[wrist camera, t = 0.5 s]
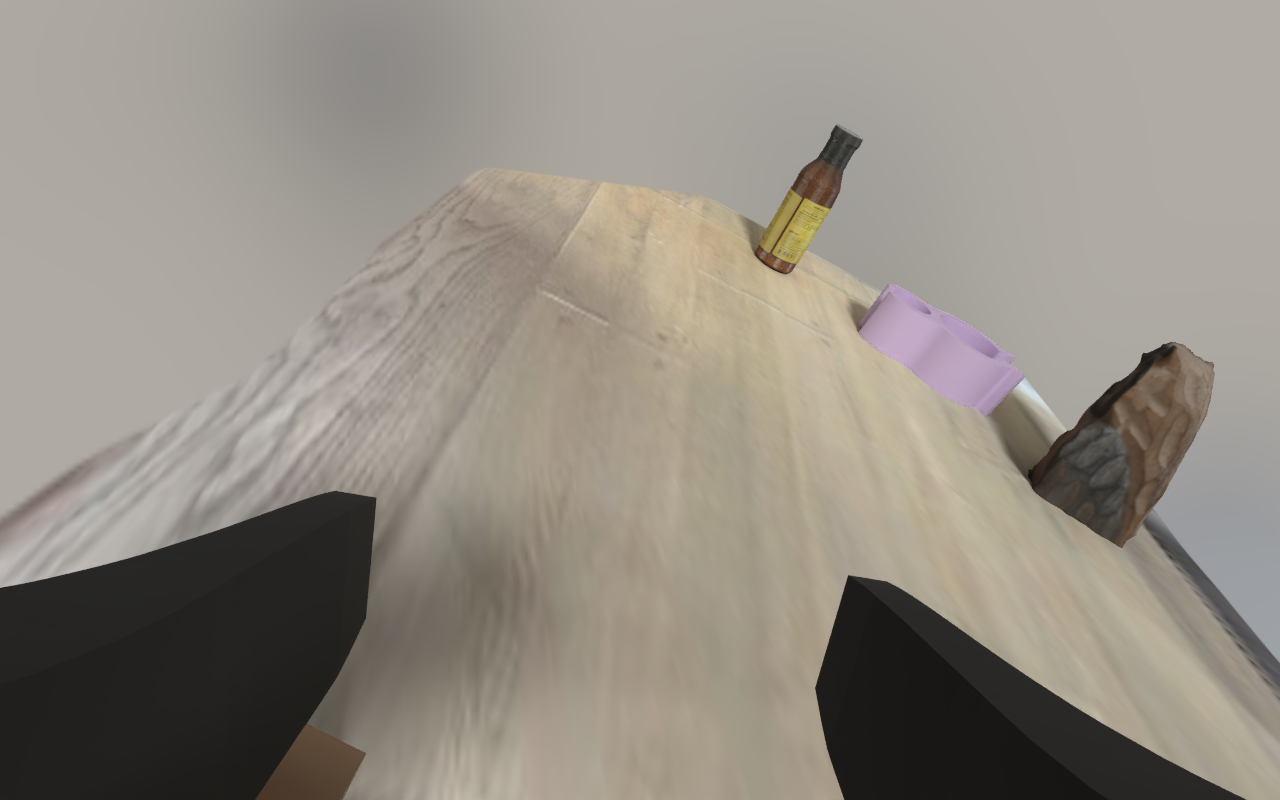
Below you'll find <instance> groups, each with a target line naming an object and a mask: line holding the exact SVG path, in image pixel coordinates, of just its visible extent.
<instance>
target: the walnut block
mask: <svg viewBox="0 0 1280 800" xmlns="http://www.w3.org/2000/svg"><path fill="white" fill-rule="evenodd" d="M365 755H366V753H365V752H363V751H360V750H358V749H356V748H354V747H352V746H350V745H348V744H346V743H344V742H342V741H340V740H337V739H335V738H333V737H331V736H329V735H327V734H325V733H323V732H321V731H319V730H317V729H314V728H312V727H310V726H308V725H305V727H304V728H303V729H302V731H301V732H300V734H299V735H298V737H297V738H296V740H295V741H294V743H293V744H292V746H291V747H290V749H289V750H288V752H287V753H286V755H285V756H284V758H283V759H282V761H281V762H280V764H279V765H278V767H277V768H276V770H275V771H274V773H273V774H272V776H271V777H270V779H269V780H268V782H267V783H266V785H265V786H264V788H263V789H262V790H261V792H260V793H259V795H258V796H257V798H256V799H255V800H343V798H344V796H345V794H346V792H347V790H348V788H349V786H350V784H351V782H352V780H353V778H354V776H355V774H356V772H357V770H358V768H359V766H360V764H361V762H362V760H363V758H364V756H365Z"/></svg>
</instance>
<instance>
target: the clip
mask: <svg viewBox="0 0 1280 800" xmlns="http://www.w3.org/2000/svg"><path fill="white" fill-rule="evenodd" d="M858 324H859V325H860V326H861V327H862V328H861V330H860V331H859V332H858V333H859V335H860V336H861V337H862V338H863V339H864V340H865V341H866V342H867V343H869V344H870V345H871V346H872V347H874V348H875V349H876V350H878V351H880V352H881V353H883V354H884V355H886V356H888V357H890V358H892V359H894V360H896V361H898V362H900V363H901V364H903V365H904V366H906V367H907V368H908V369H909V370H910V371H912V372H913V373H914V374H915V375H916V376H917V377H918V378H919V379H920V380H922V381H923V382H924V383H925V384H927V385H928V386H929V387H931V388H932V389H933V390H935V391H936V392H938V393H939V394H941V395H943V396H944V397H946V398H948V399H950V400H952V401H954V402H956V403H958V404H960V405H963V406H966V407H974V408H976V409H978V410H979V411H980V412H981V413H982V414H984V415H985V416H989V414H990V413H991V412H992V411H993V410H994V409H995V408H996V407H997V406H998V405H999V404H1000V403H1001V402H1002V401H1003V400H1004V399H1005V398H1006V396H1007V395H1008V394H1009V393H1010V392H1011V391H1012V390H1013V389H1014V388H1015V387H1016V386H1017V385H1018V384H1019V383H1020V382H1021V381H1022V380H1023V378H1024V377H1025V376H1024V375H1023V374H1022V373H1021V372H1020V371H1018V370H1017V369H1016V368H1015V367H1013V366H1012V365H1011V362H1012V361H1013V360H1014V359H1015V357H1014V356H1013V355H1012V354H1010V353H1009V352H1006V351H1004V350H1002V349H1001V348H1000V347H998V346H997V345H996V344H995V343H994V342H993V341H992V340H990V339H989V338H988V337H986V336H985V335H984V334H982V333H981V332H979V331H978V330H977V329H975V328H974V327H972V326H971V325H969V324H967V323H966V322H964V321H962V320H961V319H959V318H957V317H955V316H953V315H951V314H949V313H947V312H944V311H941V310H939V309H936V308H934V307H932V306H930V305H929V304H927V303H925V302H924V301H922V300H921V299H920V298H918V297H917V296H915V295H913V294H912V293H910V292H909V291H907V290H905V289H903V288H901V287H899V286H897V285H894V284H890V283H889V284H888V285H887V286H886V288H885V289H884V291H883V292H882V293H881V294H880V296H879V297H878V298H877V300H876V301H875V302H874V304H873V305H872V306H871V308H870V309H869V310H868V312H867V313H866V314H865V316H864V317H863V318H862V319H861V321H860V322H859V323H858Z"/></svg>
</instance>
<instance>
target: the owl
mask: <svg viewBox="0 0 1280 800" xmlns="http://www.w3.org/2000/svg"><path fill="white" fill-rule="evenodd" d="M1213 367H1214V364H1213V363H1212V362H1207V361H1204V360H1203V359H1202V358H1200V357H1197V356H1195V355H1194V354H1193V352H1191V350H1189V349H1188V348H1186V346H1184V345H1182V344H1178V343H1176V342H1170V343H1167V344H1163V345H1162V346H1161V347H1160V348H1158V349H1156V350H1154V351H1151V352H1149V353H1143V354H1142V358H1141V362H1140V363H1139V365H1138V366H1137V368H1136V369H1135V370H1134V371H1133V372H1132V373H1130V374H1129V375H1128V376H1127V377H1126V378H1124V379H1123V380H1121V381H1119V382H1116V383H1114V384H1113V385H1112V386H1111V387H1110V388H1109V389H1108V390H1107V391H1106V392H1105V393H1104V394H1103V395H1102V396H1101V397H1100V398H1099V399H1098V400H1097V401H1096V402H1095V403H1094V404H1092V405H1091V406H1090V407H1089V408H1088V409H1087V410H1086V411H1085V413H1084V414H1083V415H1082V417H1081V418H1080V420H1079V421H1078V424H1077V425H1076V426H1075V428H1074V429H1072V430H1070V431H1067V432H1065V433H1064V434H1062V435H1061V436H1059V437H1058V439H1057V440H1056V441H1055V442H1054V443H1053V445H1052V446H1051V447H1050V450H1049V452H1048V454H1047V455H1046V456H1045V457H1044V458H1043V459H1042V460H1041V461H1040V462H1039V463H1038V464H1037V465H1035V466H1034V468H1033V469H1032V470H1028V471H1029V474H1028V476H1029V478H1030V479H1031V482H1032V486H1033V488H1032V489H1033V490H1034V491H1035V492H1036V493H1037V494H1038V495H1039V496H1041V497H1042V498H1043V499H1045V500H1046V501H1048V502H1050V503H1051V504H1053V505H1055V506H1057V507H1058V508H1060V509H1062V510H1063V511H1064V512H1065V513H1066V514H1068V515H1069V516H1072V517H1074V518H1075V519H1077V520H1078V521H1080V522H1081V523H1083V524H1085V525H1086V526H1088V527H1089V528H1090V529H1091V530H1093V531H1094V532H1095V533H1097V534H1099V535H1100V536H1102V537H1104V538H1106V539H1108V540H1109V541H1111V542H1113V543H1114V544H1116V545H1117V546H1119V547H1121V548H1122V547H1123V545H1124V544H1125V542H1126V540H1128V539H1130V538H1132V537H1133V536H1135V535H1136V534H1137V532H1138V530H1139V528H1140V526H1141V525H1142V523H1143V521H1144V519H1145V518H1146V517H1147V515H1148V514H1149V512H1150V511H1151V510H1152V508H1153V507H1154V506H1155V504H1156V503H1157V502H1158V500H1159V499H1160V498H1161V497H1162V496H1163V494H1164V492H1165V491H1166V489H1167V486H1168V485H1169V482H1170V481H1171V479H1172V477H1173V475H1174V474H1175V472H1176V470H1177V468H1178V466H1179V464H1180V463H1181V461H1182V459H1183V458H1184V455H1185V453H1186V452H1187V450H1188V449H1189V447H1190V446H1191V444H1192V442H1193V440H1194V438H1195V436H1196V434H1197V432H1198V430H1199V428H1200V426H1201V425H1202V423H1203V421H1204V419H1205V417H1206V414H1207V411H1208V406H1209V403H1210V399H1211V393H1212V388H1213V380H1214V371H1213Z"/></svg>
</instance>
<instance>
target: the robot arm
mask: <svg viewBox="0 0 1280 800" xmlns="http://www.w3.org/2000/svg"><path fill="white" fill-rule="evenodd" d="M375 508H376V498H374V497H368V496H362V495H356V494H350V493H344V492H338V491H333V492H328V493H324V494H320V495H317V496H314V497H311V498H308V499H305V500H302V501H299V502H296V503H293V504H290V505H287V506H285V507H282V508H279V509H276V510H273V511H271V512H268V513H265V514H262V515H260V516H257V517H254V518H251V519H248V520H246V521H243V522H240V523H237V524H234V525H232V526H229V527H226V528H223V529H220V530H217V531H214V532H211V533H208V534H205V535H202V536H199V537H196V538H192V539H189V540H186V541H183V542H180V543H177V544H174V545H170V546H167V547H164V548H161V549H158V550H155V551H152V552H148V553H145V554H142V555H139V556H135V557H132V558H128V559H125V560H121V561H117V562H113V563H110V564H106V565H102V566H98V567H94V568H90V569H86V570H82V571H77V572H73V573H69V574H65V575H61V576H56V577H52V578H48V579H43V580H39V581H34V582H29V583H25V584H19V585H14V586H8V587H3V588H0V800H255V799H256V798H257V796H258V795H259V793H260V792H261V790H262V789H263V788H264V786H265V785H266V783H267V782H268V780H269V779H270V777H271V776H272V774H273V773H274V771H275V770H276V768H277V767H278V765H279V764H280V762H281V761H282V759H283V758H284V756H285V755H286V753H287V752H288V750H289V749H290V747H291V746H292V744H293V743H294V741H295V740H296V738H297V737H298V735H299V734H300V732H301V731H302V729H303V728H304V727H305V725H306V724H307V722H308V721H309V719H310V717H311V716H312V714H313V713H314V711H315V710H316V708H317V707H318V705H319V704H320V702H321V701H322V699H323V698H324V696H325V695H326V693H327V692H328V690H329V689H330V687H331V686H332V684H333V682H334V681H335V679H336V678H337V676H338V674H339V672H340V670H341V668H342V666H343V664H344V662H345V660H346V658H347V656H348V654H349V652H350V650H351V648H352V646H353V644H354V642H355V640H356V638H357V636H358V634H359V631H360V629H361V627H362V625H363V623H364V621H365V619H366V610H367V598H368V587H369V576H370V565H371V553H372V542H373V531H374V519H375ZM815 689H816V695H817V700H818V706H819V711H820V717H821V722H822V727H823V731H824V736H825V740H826V745H827V750H828V753H829V756H830V759H831V762H832V765H833V768H834V771H835V774H836V777H837V780H838V783H839V786H840V788H841V791H842V794H843V797H844V800H1246V799H1244V798H1242V797H1240V796H1238V795H1236V794H1233V793H1231V792H1229V791H1227V790H1225V789H1223V788H1221V787H1219V786H1217V785H1215V784H1213V783H1211V782H1209V781H1207V780H1205V779H1203V778H1201V777H1199V776H1197V775H1195V774H1193V773H1191V772H1189V771H1187V770H1185V769H1183V768H1181V767H1180V766H1178V765H1176V764H1174V763H1172V762H1170V761H1168V760H1166V759H1164V758H1162V757H1161V756H1159V755H1157V754H1155V753H1153V752H1152V751H1150V750H1148V749H1146V748H1145V747H1143V746H1141V745H1139V744H1137V743H1136V742H1134V741H1132V740H1130V739H1129V738H1127V737H1125V736H1123V735H1122V734H1120V733H1118V732H1116V731H1115V730H1113V729H1111V728H1109V727H1107V726H1106V725H1104V724H1102V723H1101V722H1099V721H1097V720H1096V719H1094V718H1092V717H1091V716H1089V715H1087V714H1086V713H1084V712H1082V711H1081V710H1079V709H1077V708H1076V707H1074V706H1073V705H1071V704H1069V703H1068V702H1066V701H1065V700H1063V699H1062V698H1060V697H1059V696H1057V695H1056V694H1054V693H1052V692H1051V691H1049V690H1048V689H1046V688H1045V687H1043V686H1042V685H1040V684H1039V683H1037V682H1035V681H1034V680H1032V679H1031V678H1029V677H1028V676H1026V675H1025V674H1023V673H1022V672H1020V671H1019V670H1018V669H1016V668H1015V667H1013V666H1012V665H1010V664H1009V663H1007V662H1006V661H1004V660H1003V659H1001V658H1000V657H999V656H997V655H996V654H994V653H993V652H991V651H990V650H989V649H987V648H986V647H984V646H983V645H981V644H980V643H979V642H977V641H976V640H974V639H973V638H972V637H970V636H969V635H967V634H966V633H965V632H963V631H962V630H960V629H959V628H958V627H956V626H955V625H953V624H952V623H950V622H949V621H948V620H946V619H945V618H943V617H942V616H941V615H939V614H938V613H936V612H935V611H933V610H932V609H931V608H929V607H928V606H926V605H925V604H923V603H922V602H920V601H919V600H917V599H916V598H914V597H913V596H911V595H910V594H908V593H907V592H905V591H903V590H902V589H900V588H898V587H896V586H894V585H893V584H891V583H889V582H886V581H880V580H874V579H868V578H862V577H856V576H850V575H848V578H847V581H846V585H845V588H844V592H843V595H842V598H841V602H840V605H839V609H838V612H837V616H836V619H835V622H834V626H833V629H832V633H831V636H830V639H829V643H828V646H827V650H826V653H825V656H824V660H823V663H822V667H821V670H820V674H819V677H818V680H817V684H816V687H815Z"/></svg>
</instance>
